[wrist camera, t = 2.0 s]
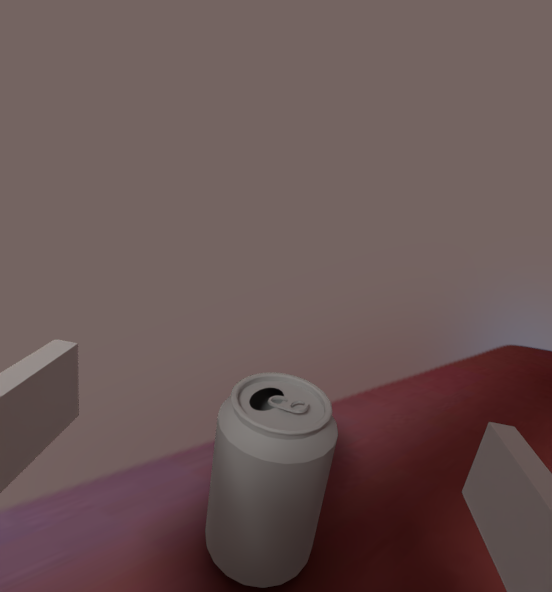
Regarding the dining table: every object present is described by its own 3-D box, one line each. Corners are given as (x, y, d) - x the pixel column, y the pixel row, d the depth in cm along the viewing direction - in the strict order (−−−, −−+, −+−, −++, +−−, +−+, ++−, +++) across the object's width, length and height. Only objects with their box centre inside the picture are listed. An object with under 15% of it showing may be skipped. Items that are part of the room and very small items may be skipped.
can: (244, 482, 32) (263, 353, 28) (326, 531, 28) (360, 393, 25) (180, 551, 25) (193, 398, 22) (276, 625, 22) (311, 459, 18)
